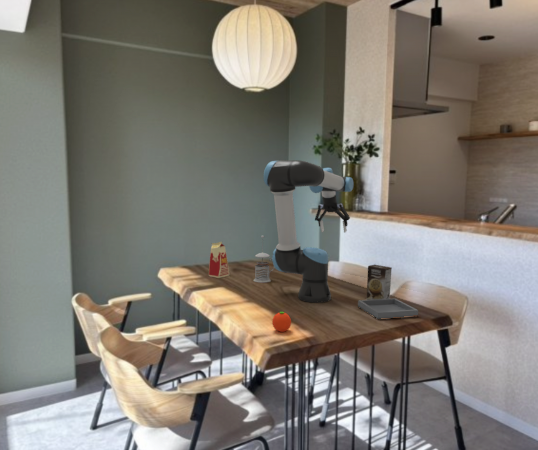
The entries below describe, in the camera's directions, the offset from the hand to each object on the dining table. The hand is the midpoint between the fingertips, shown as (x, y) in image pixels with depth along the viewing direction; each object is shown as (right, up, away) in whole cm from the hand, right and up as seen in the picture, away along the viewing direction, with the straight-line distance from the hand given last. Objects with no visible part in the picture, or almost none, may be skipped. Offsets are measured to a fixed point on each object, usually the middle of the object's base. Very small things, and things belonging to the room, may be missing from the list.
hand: (333, 231), depth 246 cm
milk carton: (-66, -25, +1) cm, 71 cm away
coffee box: (+14, -32, -45) cm, 57 cm away
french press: (-40, -27, -9) cm, 49 cm away
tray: (+13, -33, -63) cm, 72 cm away
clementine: (-32, -35, -88) cm, 100 cm away
